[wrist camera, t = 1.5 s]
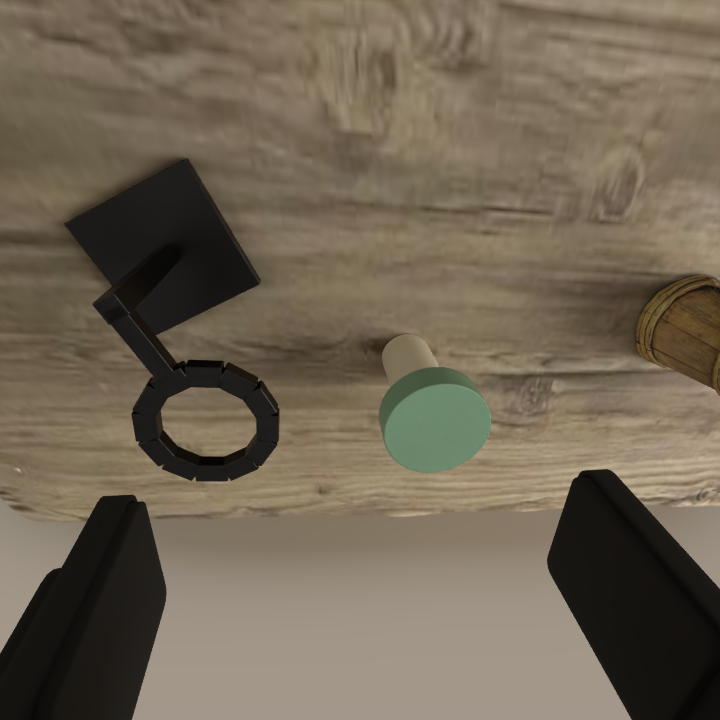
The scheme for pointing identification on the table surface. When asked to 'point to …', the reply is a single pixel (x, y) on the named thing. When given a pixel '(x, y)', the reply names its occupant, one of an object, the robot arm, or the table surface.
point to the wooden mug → (684, 329)
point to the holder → (174, 306)
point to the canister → (429, 409)
